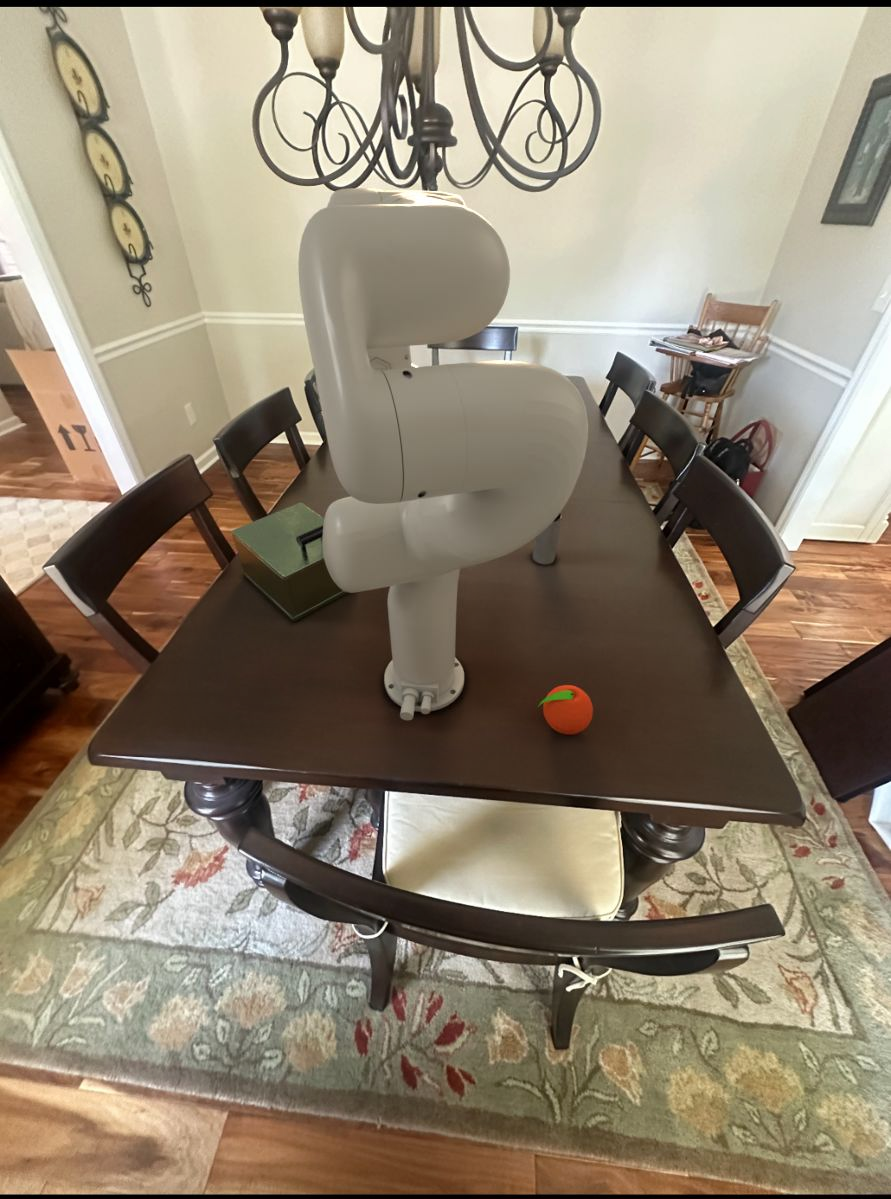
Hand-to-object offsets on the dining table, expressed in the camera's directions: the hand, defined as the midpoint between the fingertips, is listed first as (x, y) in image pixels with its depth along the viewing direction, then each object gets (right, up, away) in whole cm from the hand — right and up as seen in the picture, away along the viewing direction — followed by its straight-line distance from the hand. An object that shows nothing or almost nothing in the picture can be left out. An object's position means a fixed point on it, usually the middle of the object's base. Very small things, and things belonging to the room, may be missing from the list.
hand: (379, 436), depth 78 cm
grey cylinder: (+30, -16, +28) cm, 45 cm away
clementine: (+27, -43, -3) cm, 51 cm away
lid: (-18, -14, +15) cm, 27 cm away
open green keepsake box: (-18, -21, +22) cm, 35 cm away
